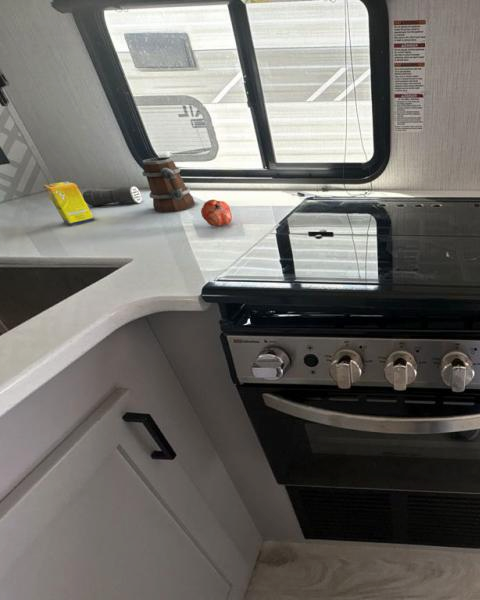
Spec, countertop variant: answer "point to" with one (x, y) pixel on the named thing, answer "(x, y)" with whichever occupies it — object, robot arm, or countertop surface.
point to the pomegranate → (216, 213)
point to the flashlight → (112, 196)
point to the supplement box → (69, 202)
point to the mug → (166, 185)
